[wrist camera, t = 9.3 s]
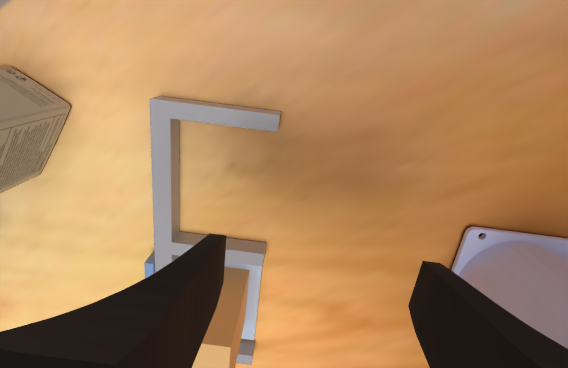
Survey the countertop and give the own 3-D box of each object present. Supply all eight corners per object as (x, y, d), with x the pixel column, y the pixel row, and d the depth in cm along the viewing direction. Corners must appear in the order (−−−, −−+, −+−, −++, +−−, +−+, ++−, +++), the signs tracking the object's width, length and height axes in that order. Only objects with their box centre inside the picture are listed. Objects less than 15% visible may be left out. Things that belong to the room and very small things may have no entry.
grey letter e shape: (280, 111, 20) (279, 115, 18) (254, 349, 27) (251, 368, 26) (150, 94, 20) (137, 97, 18) (158, 337, 27) (148, 355, 26)
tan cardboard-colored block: (249, 269, 24) (230, 347, 18) (244, 321, 26) (225, 409, 19) (196, 263, 24) (158, 338, 18) (195, 315, 26) (160, 400, 19)
